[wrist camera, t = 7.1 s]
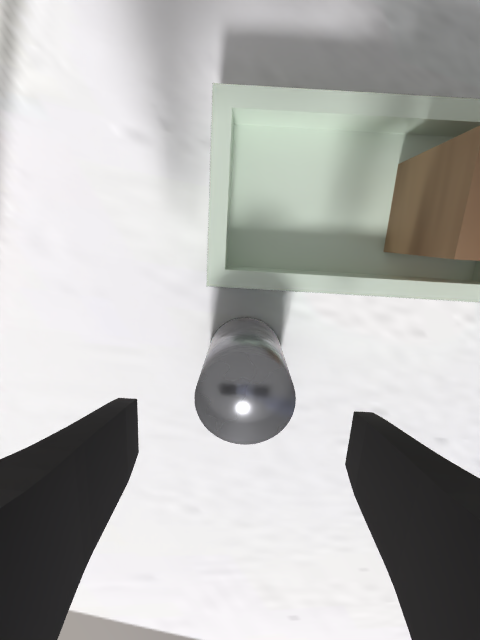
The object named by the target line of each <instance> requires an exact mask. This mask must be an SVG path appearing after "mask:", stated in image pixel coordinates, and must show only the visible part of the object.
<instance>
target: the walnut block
mask: <svg viewBox="0 0 480 640" xmlns="http://www.w3.org/2000/svg"><path fill="white" fill-rule="evenodd" d="M383 252H389V253H398V254H408V255H417V256H427V257H436V258H445V259H456V260H472V261H480V126H477V127H475V128H473V129H471V130H469V131H467V132H465V133H463V134H461V135H459V136H456V137H454V138H452V139H450V140H448V141H446V142H444V143H442V144H440V145H438V146H435V147H433V148H431V149H429V150H427V151H425V152H423V153H421V154H419V155H417V156H414V157H412V158H410V159H408V160H406V161H404V162H402V163H400V164H398V169H397V175H396V180H395V186H394V192H393V198H392V204H391V210H390V216H389V222H388V228H387V234H386V239H385V245H384V251H383Z"/></svg>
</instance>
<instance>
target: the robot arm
mask: <svg viewBox="0 0 480 640" xmlns="http://www.w3.org/2000/svg"><path fill="white" fill-rule="evenodd" d="M138 453H139V450H138V415H137V399H128V398H118V399H115V400H113V401H111V402H110V403H108V404H106V405H104V406H102V407H101V408H99V409H97V410H95V411H94V412H92V413H90V414H89V415H87V416H85V417H83V418H82V419H80V420H78V421H76V422H75V423H73V424H71V425H69V426H68V427H66V428H64V429H62V430H60V431H58V432H56V433H54V434H52V435H50V436H49V437H47V438H45V439H43V440H41V441H39V442H37V443H35V444H33V445H31V446H29V447H27V448H25V449H23V450H21V451H18V452H16V453H14V454H12V455H9V456H7V457H5V458H2V459H0V640H57V639H58V636H59V634H60V631H61V629H62V626H63V623H64V620H65V618H66V615H67V613H68V610H69V608H70V605H71V603H72V600H73V598H74V595H75V593H76V590H77V588H78V585H79V583H80V580H81V578H82V575H83V573H84V570H85V568H86V566H87V564H88V562H89V559H90V557H91V555H92V553H93V551H94V549H95V547H96V545H97V543H98V541H99V539H100V537H101V535H102V533H103V531H104V529H105V527H106V525H107V523H108V521H109V519H110V517H111V515H112V513H113V511H114V509H115V507H116V505H117V503H118V501H119V499H120V497H121V495H122V493H123V491H124V489H125V487H126V485H127V483H128V481H129V478H130V476H131V473H132V470H133V467H134V464H135V461H136V458H137V456H138ZM345 465H346V469H347V472H348V476H349V479H350V483H351V486H352V489H353V492H354V495H355V498H356V500H357V502H358V505H359V507H360V509H361V512H362V514H363V516H364V519H365V521H366V523H367V525H368V528H369V530H370V532H371V534H372V537H373V539H374V541H375V543H376V546H377V548H378V550H379V552H380V555H381V557H382V559H383V561H384V564H385V566H386V568H387V571H388V573H389V576H390V578H391V581H392V583H393V586H394V588H395V591H396V594H397V597H398V600H399V603H400V606H401V609H402V612H403V615H404V618H405V621H406V623H407V626H408V629H409V632H410V635H411V639H412V640H480V478H478V477H476V476H474V475H472V474H471V473H469V472H467V471H465V470H464V469H462V468H460V467H459V466H457V465H455V464H454V463H452V462H450V461H448V460H447V459H445V458H443V457H442V456H440V455H439V454H437V453H435V452H434V451H432V450H431V449H429V448H428V447H426V446H424V445H423V444H421V443H420V442H418V441H417V440H415V439H414V438H412V437H411V436H409V435H408V434H406V433H405V432H403V431H402V430H400V429H399V428H397V427H396V426H394V425H393V424H391V423H389V422H388V421H386V420H385V419H383V418H382V417H380V416H378V415H376V414H374V413H372V412H354V415H353V421H352V427H351V433H350V439H349V445H348V451H347V457H346V463H345Z"/></svg>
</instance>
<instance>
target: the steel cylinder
mask: <svg viewBox="0 0 480 640" xmlns="http://www.w3.org/2000/svg"><path fill="white" fill-rule="evenodd" d="M295 400H296V397H295V390H294V386H293V383H292V380H291V377H290V374H289V370H288V367H287V364H286V361H285V358H284V355H283V352H282V349H281V346H280V343H279V340H278V338H277V336H276V334H275V332H274V331H273V330H272V329H271V328H270V327H269V326H268V325H266V324H265V323H263V322H262V321H259V320H257V319H253V318H237V319H233V320H231V321H229V322H227V323H225V324H224V325H222V326H221V327H220V328H219V329H218V330H217V331H216V333H215V334H214V336H213V338H212V340H211V343H210V346H209V350H208V353H207V356H206V359H205V362H204V365H203V368H202V371H201V374H200V377H199V380H198V383H197V386H196V390H195V407H196V411H197V414H198V416H199V418H200V420H201V421H202V423H203V424H204V426H205V427H206V428H207V429H208V430H209V431H210V432H211V433H213V434H214V435H215V436H217V437H219V438H221V439H223V440H225V441H228V442H231V443H235V444H255V443H260V442H263V441H266V440H268V439H270V438H272V437H274V436H275V435H277V434H278V433H279V432H280V431H282V430H283V429H284V427H285V426H286V425H287V424H288V422H289V421H290V419H291V417H292V415H293V412H294V408H295Z"/></svg>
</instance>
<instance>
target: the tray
mask: <svg viewBox="0 0 480 640" xmlns="http://www.w3.org/2000/svg"><path fill="white" fill-rule="evenodd" d="M477 126H480V99H475V98H458V97H441V96H424V95H407V94H390V93H373V92H356V91H339V90H322V89H305V88H288V87H271V86H254V85H237V84H220V83H213V89H212V122H211V155H210V188H209V221H208V254H207V286H210V287H227V288H244V289H261V290H278V291H295V292H312V293H329V294H346V295H363V296H380V297H397V298H414V299H431V300H448V301H465V302H480V261H472V260H456V259H445V258H436V257H427V256H417V255H408V254H398V253H389V252H383V251H384V245H385V239H386V234H387V228H388V222H389V216H390V210H391V204H392V198H393V192H394V186H395V180H396V175H397V169H398V164H400V163H402V162H404V161H406V160H408V159H410V158H412V157H414V156H417V155H419V154H421V153H423V152H425V151H427V150H429V149H431V148H433V147H435V146H438V145H440V144H442V143H444V142H446V141H448V140H450V139H452V138H454V137H456V136H459V135H461V134H463V133H465V132H467V131H469V130H471V129H473V128H475V127H477Z"/></svg>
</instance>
